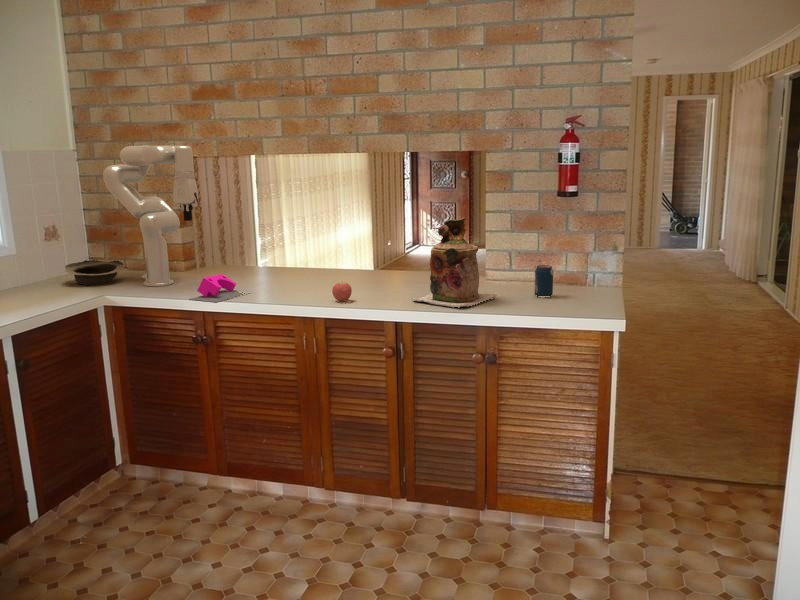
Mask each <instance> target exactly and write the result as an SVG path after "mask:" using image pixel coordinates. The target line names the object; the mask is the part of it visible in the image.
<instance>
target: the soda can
mask: <svg viewBox="0 0 800 600" xmlns="http://www.w3.org/2000/svg"><path fill="white" fill-rule="evenodd" d="M553 292H554V270H553V266H552V265H548V264H547V265H544V264H543V265H540V264H539V265H536V268H535V270H534V296H536V295H537V296H551V295H552V296H553ZM552 296H551V297H552Z"/></svg>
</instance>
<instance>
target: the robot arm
mask: <svg viewBox="0 0 800 600" xmlns="http://www.w3.org/2000/svg"><path fill="white" fill-rule="evenodd" d="M193 152H194V151H193V149H192V147H191V146H190V145H149V144H148V145H147V144H146V145H128V146H125V147H123V148H122V149H121V150H120V153H119V159H120V160H121V162H122V163H123V164H122V163H121V164H119V163H118V164H111V165H109V166H107V167H105V169H104V170H103V172H102V173H103V174H102V178H103V182H104V185H105V187H106V189H107V190H108V192H110V194H111V195H113V197H115V198H116V199H117V200H118V201H119V202H120V203H121V204H122V205H123V206H124V207H125V209H127V212H129V213H130V214H131V215H132V216H133V217H134V218H136V219H139V228H140V232H141V235H142V239H143V248H144V259H145V269H146V270H145V271H146V273H144V274H142V275H141V278H142V279H145V281H143V286H145V287H163V286H170V285H172V284H174V279H171V277H170V267H169V266H170V265H169V254H168V252H169V251H168V244H167V241H166V239H165V237H164V236H163V234H168V233H169V234H170V233H174V232H176V231H178V230H179V228H180V226H181V222H180V218H179V216H178V215H177V213H176V211H174V210H173V209H172V208H171V207H170V206H169V204H168V203H167V202H166V201H165V200H164V199H162V198H161V197H160V196H153V195H152V196H144V195H141V193H140V192H139V191H137V189H135V187H132V186H131V185H129V184H139V183H140V182H142V181H143V180H144V178H145V177H146V175H147V174H148V173H149V170H150V169H151V168H152V166H153V165H174V171H175V172H174V174H173V175H174V177H175V179H174V180H173V187H172V188H173V191H172V193H173V203H174V204H176V205H175V206H176V207H179V208H180V209H181V211H182V213H183V221H184V222H185V221H186V222H192V220H193V211H194V209H195V208H196V207H198V206H199V205H198V203H199V191H198V184H197V180H196V179H195V170H194V169H195V168H194V153H193Z"/></svg>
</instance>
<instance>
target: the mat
mask: <svg viewBox="0 0 800 600" xmlns="http://www.w3.org/2000/svg"><path fill="white" fill-rule="evenodd" d="M237 290H238V289H236V290H235V289H233V291H231V292H230V291H228V290H226V289H223V290H222V289H221V290H220V292H219V294H218V295H213V294H212V295H211V296H207V297H205V296H204V295H202V294H201V295H200V296H195V297H192V298H191V297H190V298H188V300H189V301H196V302H197V301H198V302H206V303H208V302H209V303H219V302H220V301H221V302H223V300H224V301H227V300H226V299H228V300H231V299H234V298H233V297H235V298H238V297H237V296H239V297H241V296H240V295H242V296H244V295H243V294H242V293H243V292H242V293H239V292H238V291H239V290H238V291H237ZM244 294H245V293H244ZM230 298H231V299H230ZM221 302H220V303H221Z"/></svg>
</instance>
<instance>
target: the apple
mask: <svg viewBox="0 0 800 600" xmlns="http://www.w3.org/2000/svg"><path fill="white" fill-rule="evenodd" d="M331 289H332V290H331V291H332V295H333V297H334V299H335V300H336V301H337V302H340V303H341V302H346V301H348V300H349V299H350V298H351V297H352V286H351V285H350V284H349V283H348V282H343V280H342V282H338V283H335V284H334V285H333V287H332V288H331Z"/></svg>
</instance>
